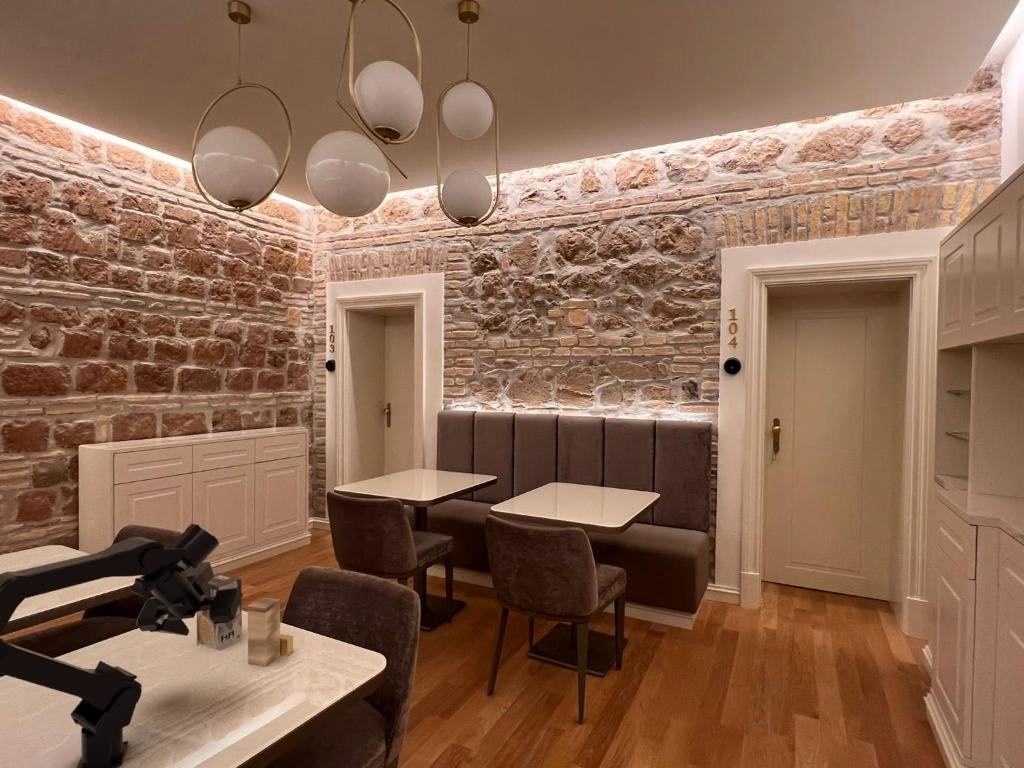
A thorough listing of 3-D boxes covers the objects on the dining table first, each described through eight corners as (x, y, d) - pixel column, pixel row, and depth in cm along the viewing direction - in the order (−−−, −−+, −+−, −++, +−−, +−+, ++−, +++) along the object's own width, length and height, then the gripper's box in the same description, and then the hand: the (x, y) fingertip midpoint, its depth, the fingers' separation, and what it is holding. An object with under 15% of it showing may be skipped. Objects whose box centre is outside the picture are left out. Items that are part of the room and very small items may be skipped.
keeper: (265, 666, 125) (264, 608, 125) (247, 663, 126) (247, 606, 126) (280, 655, 130) (280, 599, 130) (263, 652, 131) (263, 597, 131)
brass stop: (287, 656, 130) (287, 639, 130) (257, 652, 132) (257, 635, 132) (292, 652, 132) (292, 635, 132) (263, 648, 134) (263, 631, 134)
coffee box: (243, 643, 138) (243, 578, 138) (219, 655, 132) (218, 586, 132) (219, 635, 142) (218, 572, 142) (195, 646, 137) (194, 580, 136)
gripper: (234, 546, 113) (265, 590, 122) (144, 557, 113) (181, 600, 123) (214, 596, 104) (249, 639, 113) (116, 608, 104) (158, 650, 114)
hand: (209, 630), depth 116 cm, fingers open, 9 cm apart
